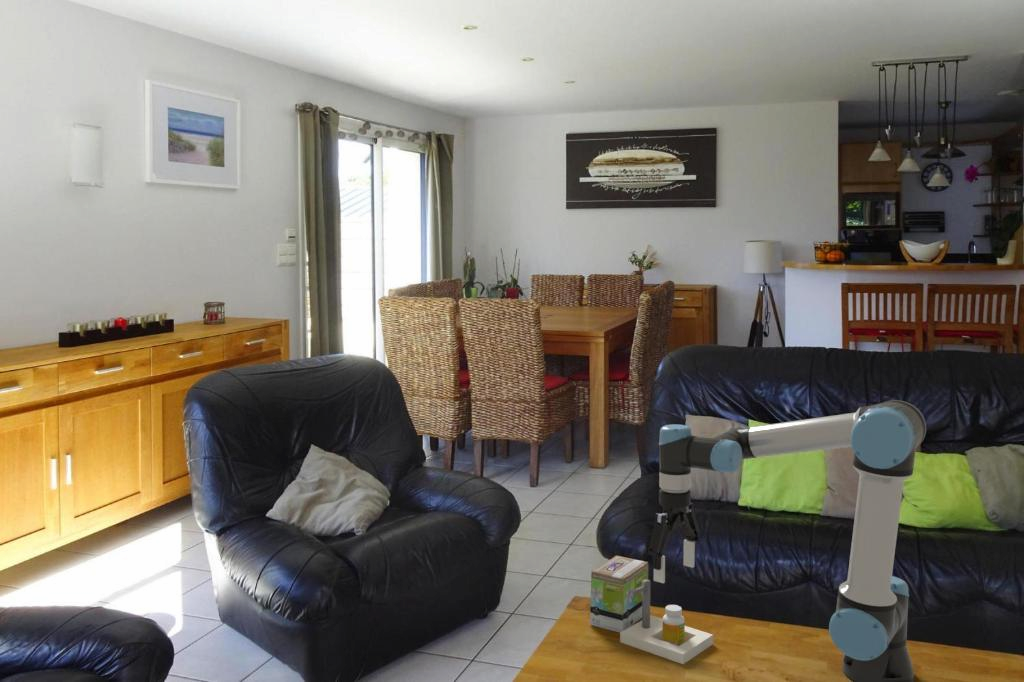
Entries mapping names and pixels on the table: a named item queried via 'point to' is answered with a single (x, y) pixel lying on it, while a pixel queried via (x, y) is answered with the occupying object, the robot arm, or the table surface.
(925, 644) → the table surface
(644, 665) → the table surface
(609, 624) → the tea box
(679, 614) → the supplement bottle
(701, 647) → the white square-hole base
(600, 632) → the table surface
